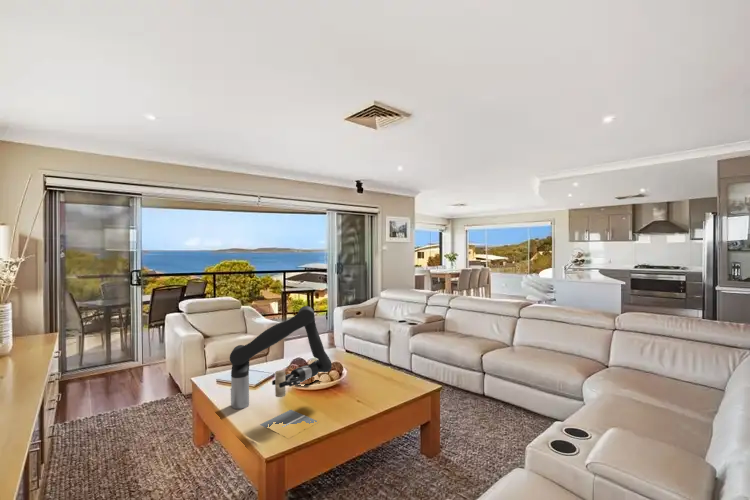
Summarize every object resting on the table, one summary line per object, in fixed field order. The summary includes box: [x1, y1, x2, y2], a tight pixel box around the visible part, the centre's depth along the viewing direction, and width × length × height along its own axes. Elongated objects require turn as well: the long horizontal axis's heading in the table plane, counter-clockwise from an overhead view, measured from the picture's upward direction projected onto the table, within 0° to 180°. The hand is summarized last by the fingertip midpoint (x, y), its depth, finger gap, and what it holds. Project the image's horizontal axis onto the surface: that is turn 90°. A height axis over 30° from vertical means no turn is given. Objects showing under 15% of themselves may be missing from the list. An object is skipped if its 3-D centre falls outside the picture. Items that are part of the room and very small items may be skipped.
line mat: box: [259, 409, 318, 429], centre depth 188 cm, size 22×20×1 cm
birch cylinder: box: [274, 370, 286, 398], centre depth 192 cm, size 5×5×12 cm
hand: (276, 384), depth 190 cm, fingers closed on birch cylinder, 5 cm apart
